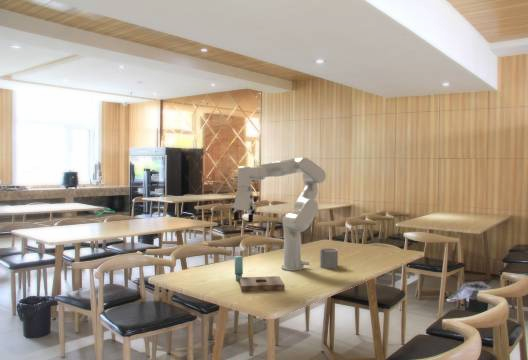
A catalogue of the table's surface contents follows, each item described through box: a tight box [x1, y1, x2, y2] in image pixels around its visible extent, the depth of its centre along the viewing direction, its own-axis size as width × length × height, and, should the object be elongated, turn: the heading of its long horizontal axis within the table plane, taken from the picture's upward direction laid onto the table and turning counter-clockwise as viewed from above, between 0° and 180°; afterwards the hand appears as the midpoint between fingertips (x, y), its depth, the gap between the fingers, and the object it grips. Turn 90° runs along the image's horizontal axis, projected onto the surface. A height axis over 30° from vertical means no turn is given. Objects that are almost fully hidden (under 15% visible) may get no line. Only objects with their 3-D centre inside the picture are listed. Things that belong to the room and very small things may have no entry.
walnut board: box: [239, 275, 285, 293], centre depth 216 cm, size 20×16×3 cm
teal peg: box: [234, 255, 244, 282], centre depth 230 cm, size 4×4×12 cm
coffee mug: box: [319, 247, 339, 270], centre depth 260 cm, size 13×10×10 cm
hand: (243, 221), depth 240 cm, fingers open, 9 cm apart
